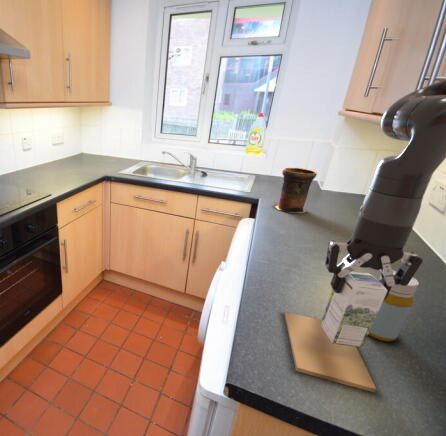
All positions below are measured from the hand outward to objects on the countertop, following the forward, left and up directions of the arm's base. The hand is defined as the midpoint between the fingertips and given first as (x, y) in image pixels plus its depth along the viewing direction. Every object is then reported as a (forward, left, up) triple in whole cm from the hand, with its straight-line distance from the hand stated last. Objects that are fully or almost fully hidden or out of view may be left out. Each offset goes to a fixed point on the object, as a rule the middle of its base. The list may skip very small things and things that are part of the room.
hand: (356, 294), depth 59 cm
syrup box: (0, 0, -11) cm, 11 cm away
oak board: (+2, 0, -15) cm, 15 cm away
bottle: (-11, -11, -15) cm, 21 cm away
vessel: (-5, -101, -15) cm, 102 cm away
